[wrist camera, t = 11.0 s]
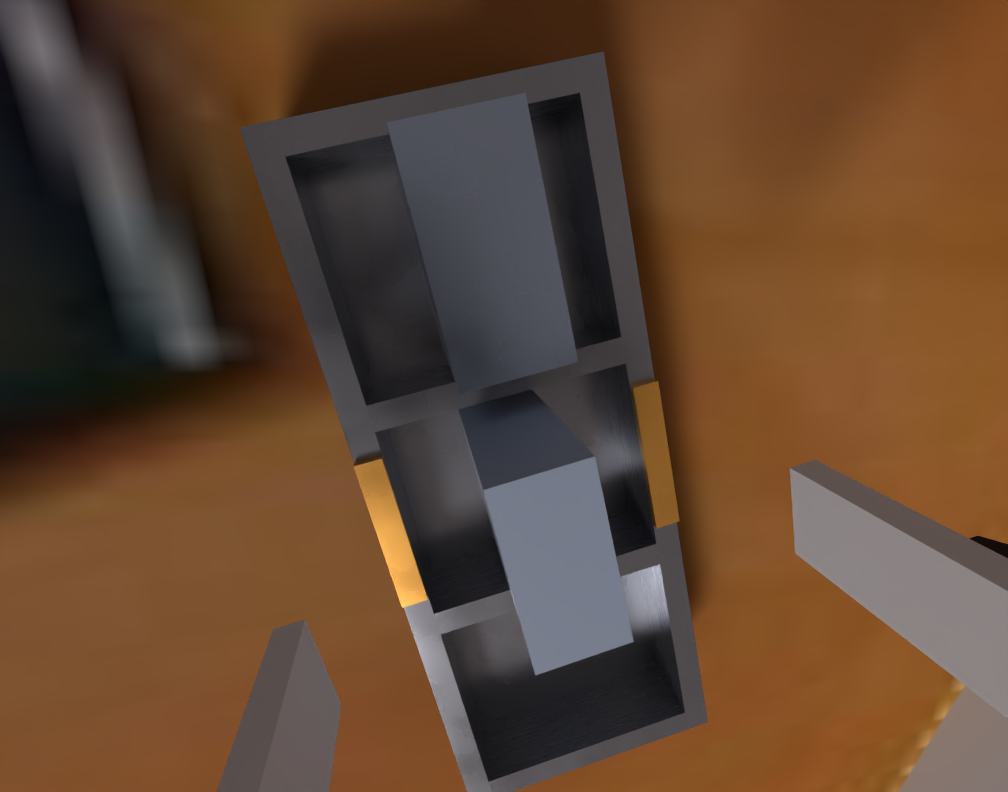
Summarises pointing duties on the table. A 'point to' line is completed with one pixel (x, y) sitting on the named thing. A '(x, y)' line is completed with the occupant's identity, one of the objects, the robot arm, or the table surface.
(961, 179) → the table surface
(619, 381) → the rack
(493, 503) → the block
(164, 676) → the table surface
